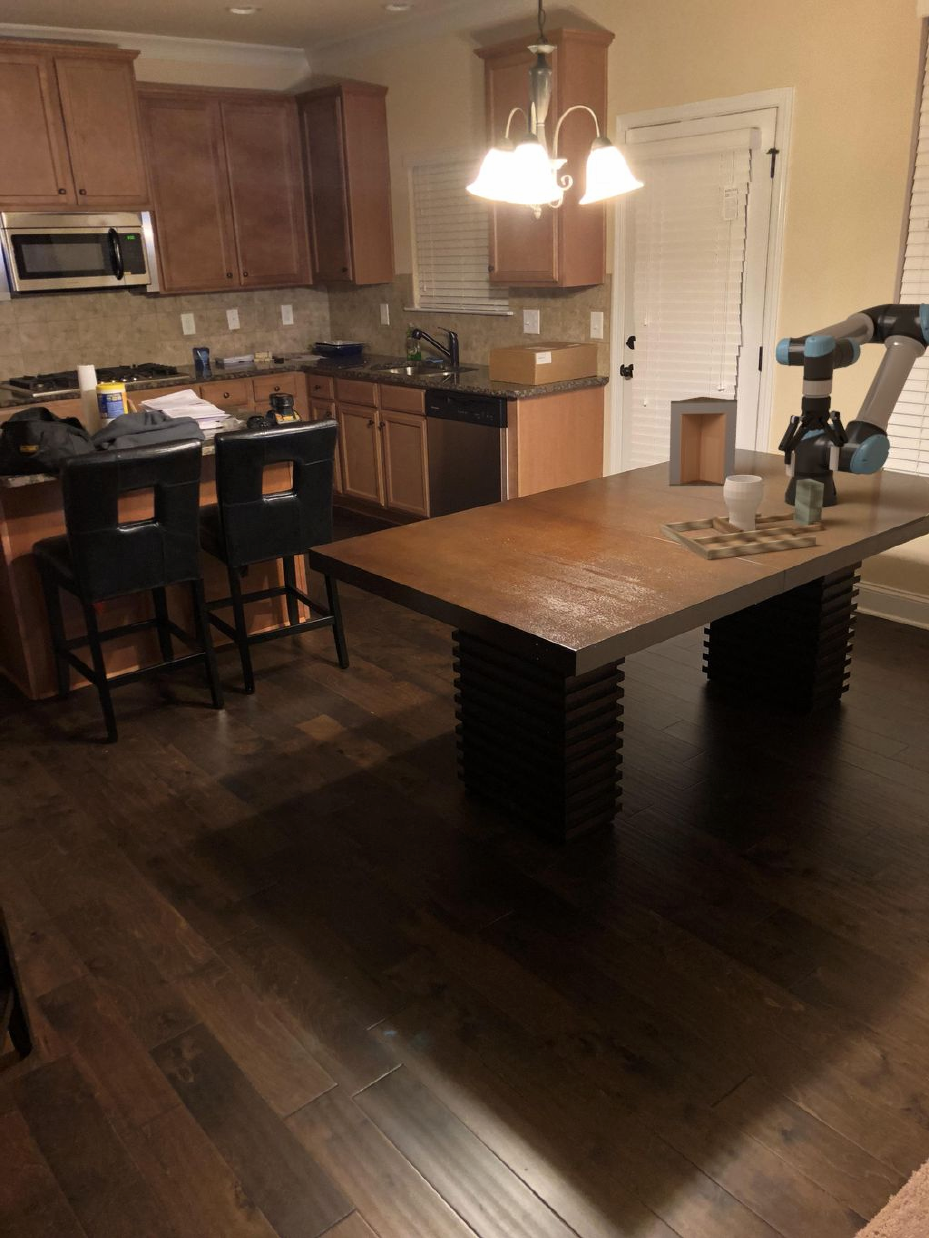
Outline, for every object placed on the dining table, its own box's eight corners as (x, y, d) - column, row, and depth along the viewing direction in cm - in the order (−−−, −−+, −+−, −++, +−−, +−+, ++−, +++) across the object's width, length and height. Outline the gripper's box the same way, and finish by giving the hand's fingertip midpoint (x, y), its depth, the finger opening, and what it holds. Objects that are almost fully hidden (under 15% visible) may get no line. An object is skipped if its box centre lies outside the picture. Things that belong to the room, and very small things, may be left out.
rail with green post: (798, 517, 282) (801, 476, 278) (828, 529, 269) (832, 486, 264) (712, 527, 276) (714, 486, 272) (738, 540, 263) (741, 497, 258)
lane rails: (759, 520, 281) (759, 512, 280) (815, 545, 255) (816, 536, 254) (659, 532, 274) (660, 524, 273) (707, 559, 248) (707, 550, 248)
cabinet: (669, 486, 327) (671, 401, 317) (669, 479, 336) (671, 397, 326) (733, 486, 322) (737, 400, 313) (732, 479, 331) (736, 395, 321)
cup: (763, 536, 265) (767, 482, 260) (723, 537, 267) (726, 483, 261) (758, 526, 275) (761, 474, 270) (719, 527, 276) (721, 474, 271)
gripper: (848, 389, 269) (843, 465, 276) (767, 398, 263) (764, 475, 271) (865, 392, 262) (859, 470, 269) (782, 402, 257) (778, 481, 264)
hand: (811, 473), depth 270 cm, fingers open, 13 cm apart
